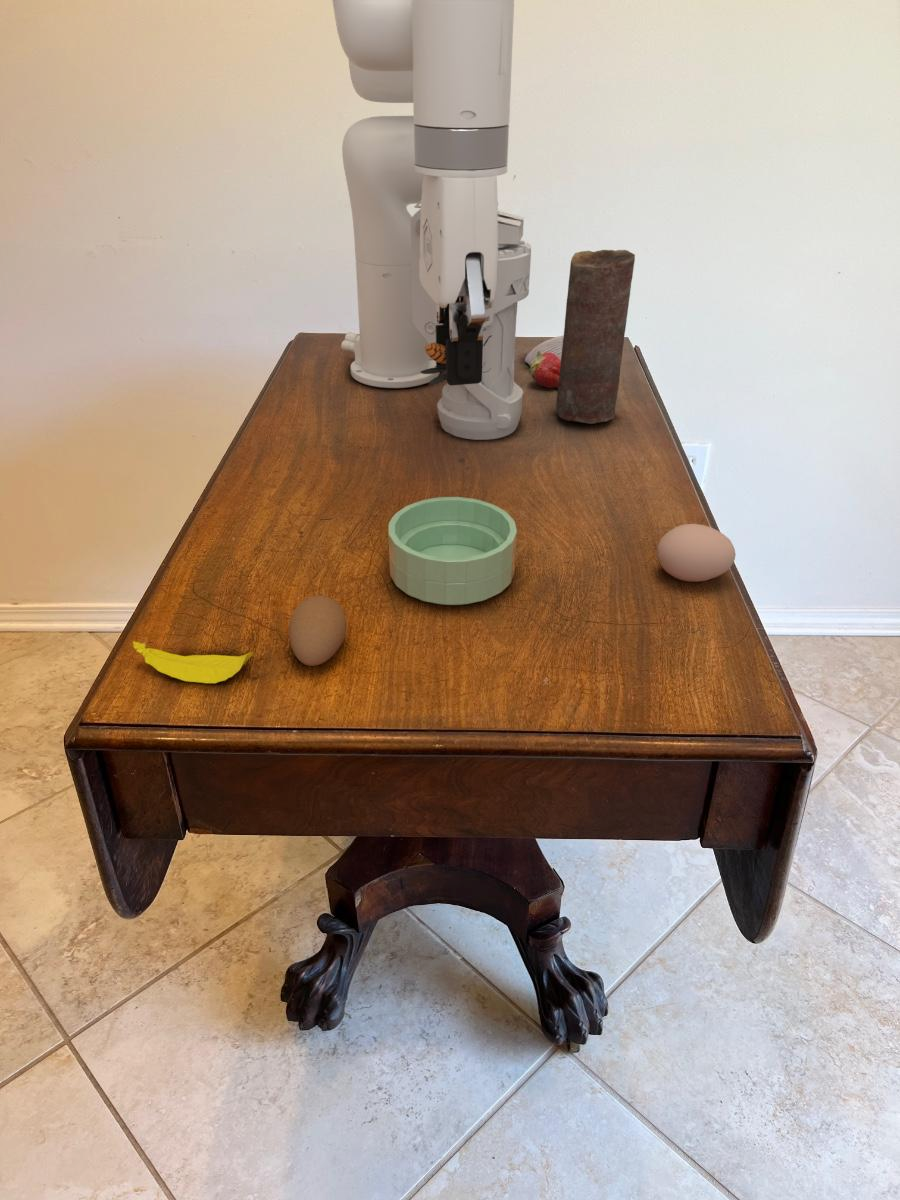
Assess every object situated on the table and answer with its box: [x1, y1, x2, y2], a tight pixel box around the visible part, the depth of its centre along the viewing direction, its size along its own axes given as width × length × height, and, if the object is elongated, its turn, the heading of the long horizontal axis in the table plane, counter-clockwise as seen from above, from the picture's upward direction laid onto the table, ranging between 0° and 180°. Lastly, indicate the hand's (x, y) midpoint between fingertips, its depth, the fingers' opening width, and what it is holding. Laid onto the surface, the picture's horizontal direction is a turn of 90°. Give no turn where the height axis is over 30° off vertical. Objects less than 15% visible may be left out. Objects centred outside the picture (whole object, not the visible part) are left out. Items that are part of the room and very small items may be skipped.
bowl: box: [387, 496, 518, 606], centre depth 75 cm, size 11×11×5 cm
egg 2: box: [656, 523, 736, 583], centre depth 74 cm, size 5×5×7 cm
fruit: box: [528, 350, 561, 389], centre depth 113 cm, size 4×6×5 cm
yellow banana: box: [132, 640, 255, 684], centre depth 64 cm, size 10×2×3 cm
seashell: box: [524, 335, 564, 368], centre depth 121 cm, size 10×6×10 cm
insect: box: [420, 329, 492, 386], centre depth 76 cm, size 4×6×5 cm, turn 105°
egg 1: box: [288, 594, 348, 667], centre depth 65 cm, size 4×4×6 cm
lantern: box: [411, 201, 532, 441], centre depth 97 cm, size 13×10×25 cm
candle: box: [555, 249, 636, 425], centre depth 99 cm, size 8×7×20 cm
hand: (458, 373), depth 77 cm, fingers closed on insect, 3 cm apart
